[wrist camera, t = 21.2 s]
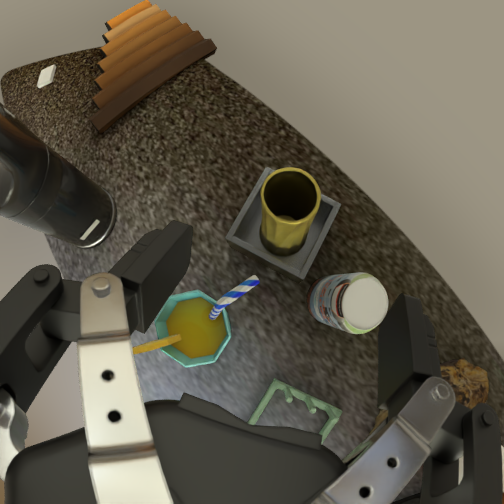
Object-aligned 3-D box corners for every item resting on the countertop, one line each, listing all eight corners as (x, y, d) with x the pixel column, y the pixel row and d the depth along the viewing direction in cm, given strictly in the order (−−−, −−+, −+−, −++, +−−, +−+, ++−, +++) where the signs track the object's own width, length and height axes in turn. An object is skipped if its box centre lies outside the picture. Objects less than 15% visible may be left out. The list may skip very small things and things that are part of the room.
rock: (458, 444, 35) (472, 354, 38) (491, 460, 26) (510, 358, 29) (353, 465, 35) (366, 363, 38) (376, 494, 26) (397, 374, 29)
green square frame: (237, 438, 37) (232, 456, 31) (274, 377, 39) (275, 389, 33) (302, 467, 36) (306, 487, 30) (340, 409, 37) (351, 423, 32)
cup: (243, 263, 41) (229, 238, 27) (279, 313, 40) (285, 316, 25) (157, 325, 41) (103, 331, 26) (190, 374, 39) (151, 405, 24)
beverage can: (313, 270, 41) (331, 255, 29) (365, 287, 40) (401, 278, 28) (298, 317, 40) (311, 321, 28) (352, 333, 39) (384, 342, 27)
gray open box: (230, 247, 42) (224, 238, 36) (266, 184, 43) (266, 166, 38) (298, 283, 41) (303, 279, 35) (332, 217, 42) (341, 204, 36)
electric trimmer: (464, 478, 31) (455, 471, 34) (374, 514, 31) (368, 504, 34) (462, 494, 30) (453, 487, 33) (374, 530, 30) (368, 520, 33)
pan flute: (102, 136, 46) (217, 55, 50) (95, 126, 43) (217, 43, 47) (49, 71, 48) (145, 7, 52) (43, 62, 44) (142, -4, 48)
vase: (283, 266, 40) (291, 244, 26) (249, 232, 41) (240, 193, 27) (316, 233, 41) (340, 195, 27) (283, 200, 42) (289, 149, 28)
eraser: (54, 64, 50) (41, 70, 50) (49, 79, 49) (36, 85, 49) (56, 67, 51) (44, 73, 51) (52, 82, 50) (39, 88, 50)
